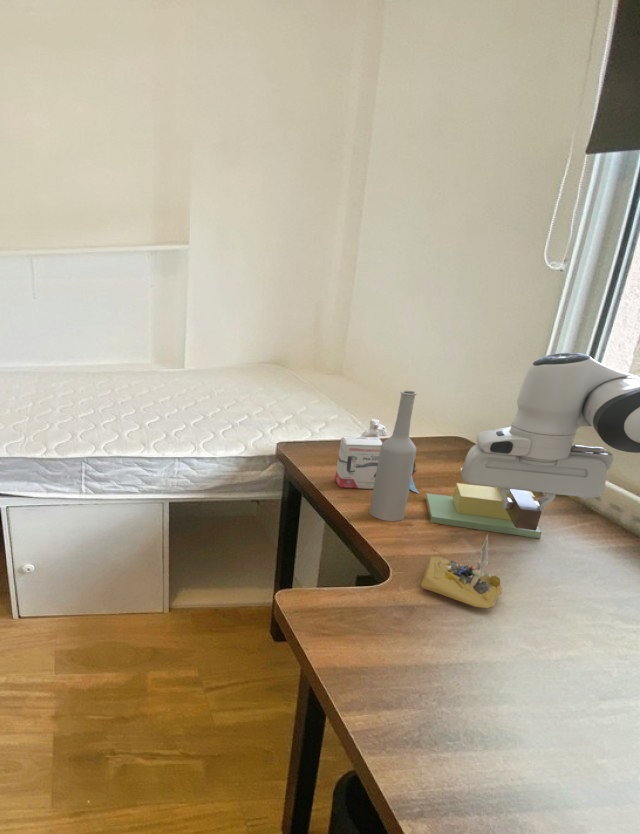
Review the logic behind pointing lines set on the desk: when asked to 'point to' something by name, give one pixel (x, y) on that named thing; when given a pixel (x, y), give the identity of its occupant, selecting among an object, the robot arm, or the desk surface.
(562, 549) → the desk surface
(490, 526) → the butter dish
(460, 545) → the desk surface
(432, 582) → the toy boat
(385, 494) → the bottle
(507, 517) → the butter
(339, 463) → the ink box
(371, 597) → the desk surface
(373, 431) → the koala figurine
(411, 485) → the knife
